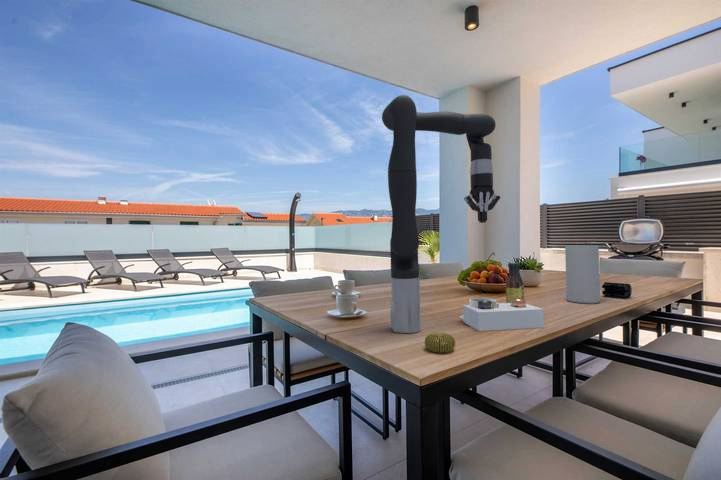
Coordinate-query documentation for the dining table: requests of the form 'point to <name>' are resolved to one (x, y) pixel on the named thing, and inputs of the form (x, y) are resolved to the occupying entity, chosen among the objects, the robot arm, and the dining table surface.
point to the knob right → (518, 302)
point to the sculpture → (440, 342)
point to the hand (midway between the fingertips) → (482, 222)
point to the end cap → (616, 290)
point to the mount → (503, 317)
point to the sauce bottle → (514, 283)
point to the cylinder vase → (582, 274)
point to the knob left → (484, 304)
